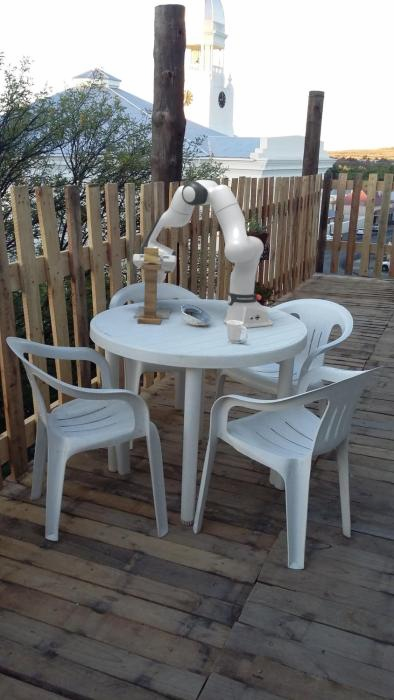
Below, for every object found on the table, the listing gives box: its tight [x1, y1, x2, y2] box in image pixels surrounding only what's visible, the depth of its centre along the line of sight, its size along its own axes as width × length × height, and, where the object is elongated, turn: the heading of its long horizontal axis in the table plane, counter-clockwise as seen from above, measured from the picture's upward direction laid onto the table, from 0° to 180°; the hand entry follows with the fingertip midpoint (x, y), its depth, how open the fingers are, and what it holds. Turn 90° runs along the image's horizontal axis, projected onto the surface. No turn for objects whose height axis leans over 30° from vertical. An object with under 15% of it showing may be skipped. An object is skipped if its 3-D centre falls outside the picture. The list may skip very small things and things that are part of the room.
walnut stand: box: [137, 262, 163, 326], centre depth 254 cm, size 10×10×26 cm
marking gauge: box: [144, 247, 158, 263], centre depth 254 cm, size 16×6×6 cm, turn 179°
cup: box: [225, 320, 249, 344], centre depth 230 cm, size 7×10×8 cm
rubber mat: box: [133, 305, 172, 320], centre depth 274 cm, size 22×16×1 cm
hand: (153, 254), depth 259 cm, fingers closed on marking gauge, 3 cm apart
